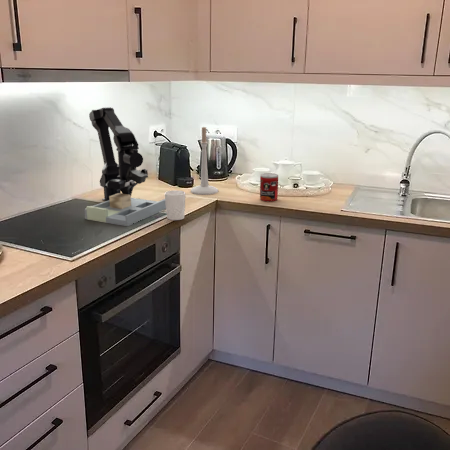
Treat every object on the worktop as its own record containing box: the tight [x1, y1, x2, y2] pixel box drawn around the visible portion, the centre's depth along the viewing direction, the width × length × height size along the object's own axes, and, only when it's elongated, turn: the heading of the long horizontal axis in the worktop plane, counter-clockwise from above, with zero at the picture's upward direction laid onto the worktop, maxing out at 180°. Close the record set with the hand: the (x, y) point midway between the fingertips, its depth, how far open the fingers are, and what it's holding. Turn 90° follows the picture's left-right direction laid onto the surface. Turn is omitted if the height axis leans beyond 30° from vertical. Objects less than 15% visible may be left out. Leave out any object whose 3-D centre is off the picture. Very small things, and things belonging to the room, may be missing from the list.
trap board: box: [84, 197, 166, 227], centre depth 202 cm, size 20×28×5 cm
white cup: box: [164, 189, 186, 221], centre depth 195 cm, size 8×8×10 cm
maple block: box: [109, 192, 132, 209], centre depth 204 cm, size 6×6×4 cm
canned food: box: [259, 172, 279, 202], centre depth 221 cm, size 8×8×11 cm
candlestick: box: [190, 126, 219, 196], centre depth 232 cm, size 13×13×30 cm
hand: (128, 200), depth 208 cm, fingers closed
